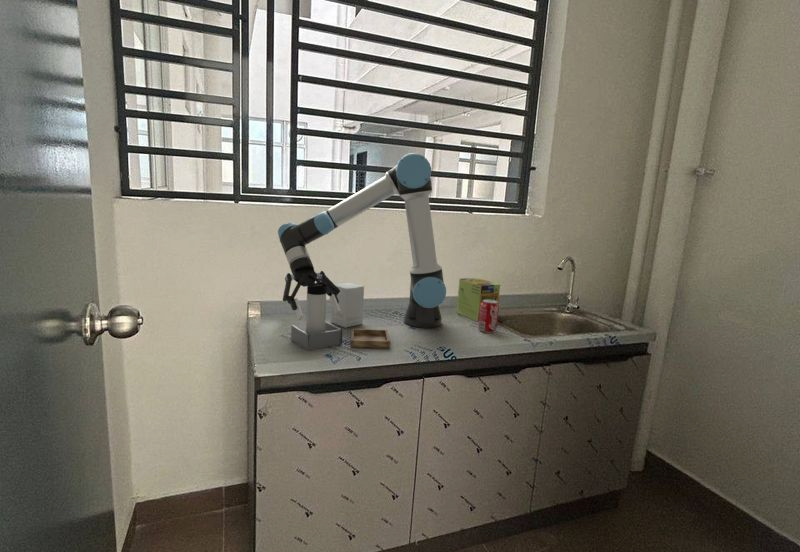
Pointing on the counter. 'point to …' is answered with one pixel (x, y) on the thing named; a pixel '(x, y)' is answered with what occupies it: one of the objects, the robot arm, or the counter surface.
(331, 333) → the bay
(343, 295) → the supplement box
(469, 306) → the protein box
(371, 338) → the tray
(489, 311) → the soda can
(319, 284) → the travel mug
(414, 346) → the counter surface
